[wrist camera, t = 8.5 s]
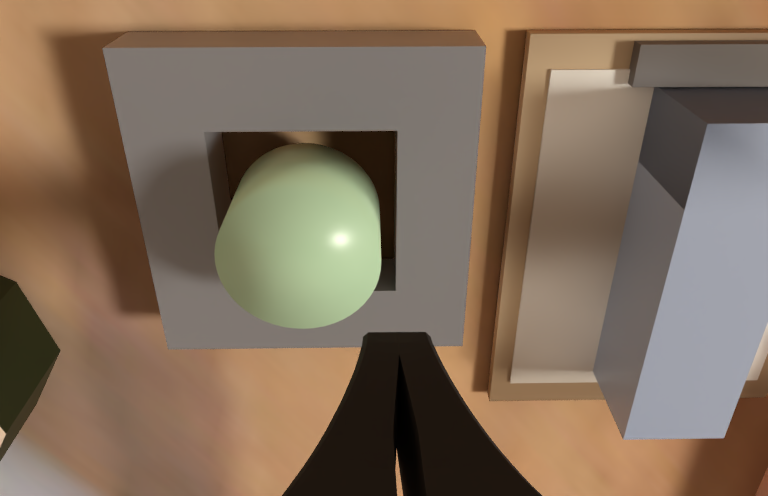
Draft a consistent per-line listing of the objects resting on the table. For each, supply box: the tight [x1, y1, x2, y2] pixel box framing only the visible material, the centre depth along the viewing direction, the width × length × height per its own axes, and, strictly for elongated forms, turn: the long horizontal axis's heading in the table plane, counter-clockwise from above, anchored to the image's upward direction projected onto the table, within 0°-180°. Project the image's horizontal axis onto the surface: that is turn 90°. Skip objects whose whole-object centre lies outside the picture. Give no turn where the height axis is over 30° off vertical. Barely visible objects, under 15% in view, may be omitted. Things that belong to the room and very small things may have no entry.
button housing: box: [102, 30, 486, 349], centre depth 20 cm, size 10×10×2 cm
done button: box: [214, 143, 381, 329], centre depth 18 cm, size 4×4×3 cm
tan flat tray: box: [487, 29, 768, 401], centre depth 22 cm, size 14×11×1 cm
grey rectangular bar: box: [593, 87, 768, 440], centre depth 20 cm, size 11×3×3 cm, turn 0°
